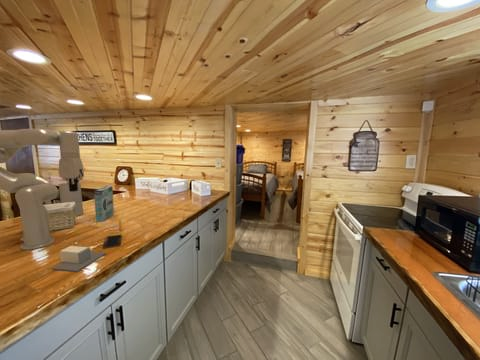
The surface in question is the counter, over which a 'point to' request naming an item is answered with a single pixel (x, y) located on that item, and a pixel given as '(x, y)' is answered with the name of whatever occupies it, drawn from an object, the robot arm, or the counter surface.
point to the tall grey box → (72, 197)
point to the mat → (78, 266)
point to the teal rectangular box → (103, 203)
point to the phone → (112, 241)
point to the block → (75, 254)
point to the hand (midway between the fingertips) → (73, 191)
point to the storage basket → (61, 215)
